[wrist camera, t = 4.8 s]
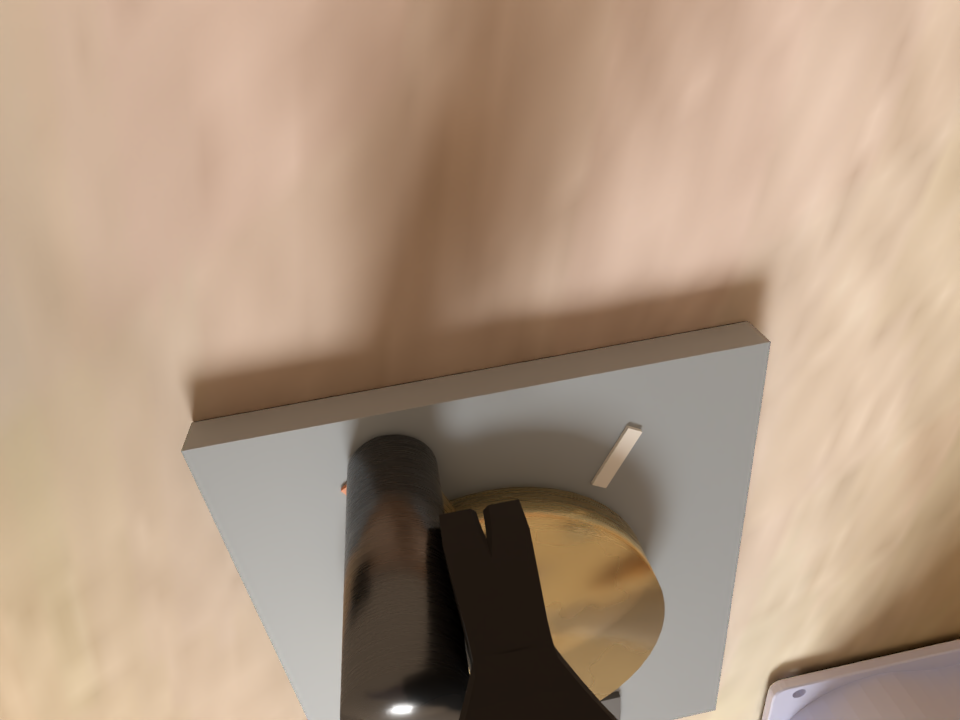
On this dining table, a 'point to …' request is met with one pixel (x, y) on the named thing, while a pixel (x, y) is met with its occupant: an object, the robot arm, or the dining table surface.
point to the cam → (430, 600)
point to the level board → (510, 463)
